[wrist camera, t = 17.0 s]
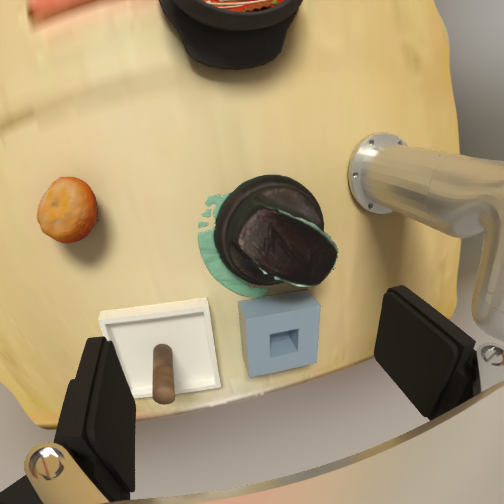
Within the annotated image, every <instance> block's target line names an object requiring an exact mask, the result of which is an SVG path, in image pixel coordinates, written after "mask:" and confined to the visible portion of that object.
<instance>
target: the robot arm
mask: <svg viewBox="0 0 504 504" xmlns="http://www.w3.org/2000/svg"><path fill="white" fill-rule="evenodd" d="M353 174H354V175H353ZM348 180H349V186H350V190H351V193H352V195H353V197H354V199H355V200H356V201H357V202H358V204H359V205H360V206H362V207H363V208H364V209H366V210H368V211H370V212H372V213H375V214H388V213H391V212H393V211H396V212H398V213H400V214H403V215H405V216H407V217H409V218H412V219H414V220H416V221H418V222H421V223H423V224H425V225H427V226H429V227H432V228H434V229H436V230H438V231H440V232H443V233H445V234H447V235H449V236H452V237H456V238H466V237H471V236H474V235H476V234H478V233H481V232H483V231H484V241H483V251H482V256H481V261H480V266H479V270H478V275H477V279H476V283H475V288H474V292H473V297H472V304H471V311H472V316H473V319H474V321H475V322H476V324H477V326H478V327H479V328H480V329H481V330H483V331H484V332H485V333H487V334H488V335H490V336H492V337H494V338H496V339H499V340H501V341H504V161H494V160H487V159H481V158H474V157H469V156H464V155H459V154H453V153H448V152H442V151H437V150H431V149H425V148H418V147H411V146H408V145H407V144H406V143H405V142H404V141H403V140H402V139H401V138H399V137H398V136H396V135H393V134H389V133H376V134H372V135H370V136H368V137H366V138H365V139H364V140H362V141H361V142H360V143H359V145H358V146H357V147H356V149H355V150H354V152H353V154H352V157H351V159H350V163H349V168H348ZM475 343H476V341H475V340H473V339H472V338H471V337H470V336H468V335H467V334H466V333H465V332H464V331H462V330H461V329H460V328H459V327H457V326H456V325H455V324H453V323H452V322H451V321H450V320H448V319H447V318H446V317H445V316H443V315H442V314H441V313H439V312H438V311H437V310H436V309H434V308H433V307H432V306H430V305H429V304H428V303H426V302H425V301H424V300H423V299H421V298H420V297H419V296H417V295H416V294H415V293H413V292H412V291H411V290H409V289H408V288H407V287H405V286H403V285H400V286H396V287H392V288H389V289H388V290H387V292H386V293H385V294H384V297H383V303H382V309H381V315H380V321H379V327H378V333H377V338H376V343H375V348H374V356H375V359H376V361H377V362H378V363H379V364H380V365H381V366H382V368H383V369H384V370H385V371H386V372H387V373H388V375H389V376H390V377H391V378H392V379H393V381H394V382H395V383H396V384H397V385H398V387H399V388H400V389H401V390H402V391H403V393H404V394H405V395H406V396H407V397H408V399H409V400H410V401H411V402H412V403H413V404H414V406H415V407H416V408H417V409H418V411H419V412H420V413H421V414H422V415H423V416H424V417H428V419H429V420H430V421H429V422H427V423H425V424H423V425H421V426H419V427H417V428H415V429H413V430H411V431H409V432H407V433H405V434H403V435H400V436H398V437H396V438H394V439H392V440H389V441H387V442H385V443H382V444H380V445H377V446H375V447H373V448H371V449H368V450H365V451H363V452H360V453H357V454H355V455H352V456H349V457H347V458H344V459H341V460H338V461H335V462H332V463H329V464H326V465H323V466H320V467H317V468H313V469H310V470H307V471H303V472H300V473H296V474H293V475H289V476H285V477H282V478H277V479H273V480H269V481H265V482H260V483H256V484H251V485H246V486H241V487H236V488H231V489H225V490H219V491H212V492H206V493H198V494H191V495H183V496H173V497H162V498H149V499H138V500H130V492H134V491H135V420H136V405H135V400H134V397H133V395H132V392H131V390H130V387H129V385H128V382H127V380H126V377H125V375H124V372H123V369H122V367H121V364H120V361H119V358H118V356H117V353H116V350H115V347H114V344H113V342H112V341H111V340H109V341H107V339H106V337H104V336H103V337H93V338H88V339H87V341H86V344H85V348H84V351H83V354H82V357H81V361H80V364H79V367H78V371H77V374H76V378H75V379H72V380H71V381H70V382H69V385H68V388H67V392H66V395H65V399H64V402H63V406H62V410H61V414H60V418H59V422H58V426H57V430H56V435H55V439H54V443H50V442H48V443H43V444H40V445H37V446H35V447H34V448H33V449H32V450H30V452H29V453H28V454H27V456H26V459H25V462H24V470H25V473H26V475H25V476H23V477H22V478H21V479H19V480H18V481H16V482H15V483H13V484H12V485H11V486H9V487H8V488H6V489H5V490H3V491H2V492H0V504H504V347H503V346H501V345H499V344H495V343H484V344H482V345H480V346H479V347H478V349H477V351H475V350H474V349H473V348H474V345H475Z"/></svg>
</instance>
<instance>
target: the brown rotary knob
mask: <svg viewBox="0 0 504 504" xmlns="http://www.w3.org/2000/svg"><path fill="white" fill-rule="evenodd" d="M220 198H221V200H220ZM212 204H216V207H215V209H214V212H213V213H214V214H213V216H214V217H215V219H216V222H215V223H214V224H216V226H215V227H214V228H213V229H211V230H208V231H205V232H200V233H198V242H199V248H200V252H201V256H202V258H203V261H204V263H205V265H206V267H207V268H208V270H209V271H210V273H211V274H212V275H213V276H214V278H215V279H216V280H217V281H219V282H220V283H221V284H222V285H224V286H225V287H227V288H228V289H230V290H232V291H234V292H236V293H238V294H241V295H244V296H249V297H268V296H264V295H265V293H267V292H268V291H269V289H263V288H257V287H254V288H252V289H251V288H250V287H249V285H248V284H249V283H252V284H255V285H274V284H279V283H283V282H286V283H289V284H292V285H295V286H299V287H311V286H316V285H318V284H320V283H321V282H322V281H323V280H324V279H325V278H326V277H327V276H328V274H329V273H330V272H331V270H332V268H333V267H334V268H333V270H334V269H335V268H336V263H335V262H336V258H338V256H337V257H336V255H337V253H338V249H337V246H336V244H335V243H334V242H333V241H332V240H331V237H330V236H329V235H328V234H326V233H325V232H324V221H323V215H322V211H321V209H320V206H319V204H318V202H317V201H316V199H315V197H314V196H313V195H312V193H311V192H310V191H309V190H307V189H306V188H305V187H304V186H303V185H302V184H300V183H299V182H297V181H295V180H293V179H291V178H289V177H286V176H281V175H263V176H258V177H256V178H253V179H251V180H248V181H245V182H244V183H242V184H241V185H239V186H238V187H237V188H236V189H235V191H233V192H231V193H229V194H227V195H226V194H225V195H224V196H223V197H221V195H220V194H217V195H214V196H209V197H208V199H207V201H206V204H205V205H207V206H208V207H209V206H211V205H212ZM210 212H211V209H208V210H207V211H206V212H205V213H203V214H201V216H204V217H210V216H211V215H210V214H211V213H210ZM208 225H209V223H207V222H199V226H198V228H201V227H206V226H208Z"/></svg>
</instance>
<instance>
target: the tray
mask: <svg viewBox="0 0 504 504" xmlns="http://www.w3.org/2000/svg"><path fill="white" fill-rule="evenodd" d="M98 321H99V324H100V328H101V331H102V334H103V336H104V337H106V339H107V341H109V340H111V341H112V342H113V344H114V347H115V350H116V353H117V356H118V358H119V361H120V364H121V367H122V369H123V372H124V375H125V377H126V380H127V382H128V385H129V387H130V390H131V392H132V395H133V397H134V398H144V397H152V382H153V349H154V347H155V346H157V345H159V344H166V345H168V346H170V347H171V349H172V354H173V373H174V388H175V394H179V393H187V392H194V391H201V390H208V389H214V388H220V387H221V384H220V378H219V372H218V366H217V359H216V353H215V346H214V340H213V333H212V326H211V319H210V312H209V305H208V301H207V297H204V298H198V299H191V300H183V301H176V302H169V303H162V304H154V305H146V306H138V307H131V308H122V309H114V310H106V311H101V313H100V316H99V319H98Z"/></svg>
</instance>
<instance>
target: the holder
mask: <svg viewBox="0 0 504 504" xmlns="http://www.w3.org/2000/svg"><path fill="white" fill-rule="evenodd" d="M238 307H239V318H240V329H241V340H242V351H243V359H244V362H245V365H246V368H247V371H248V374H249V376H250V377H255V376H260V375H265V374H270V373H275V372H279V371H284V370H288V369H293V368H297V367H301V366H305V365H309V364H313V363H317V352H318V338H319V323H320V307H321V305H320V304H319V303H318V301H317V300H316V299H315V298H314V297H313V295H312V294H311V293H310V292H309V291H308V290H302V291H297V292H291V293H286V294H280V295H274V296H268V297H262V298H256V299H250V300H244V301H238Z"/></svg>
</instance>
